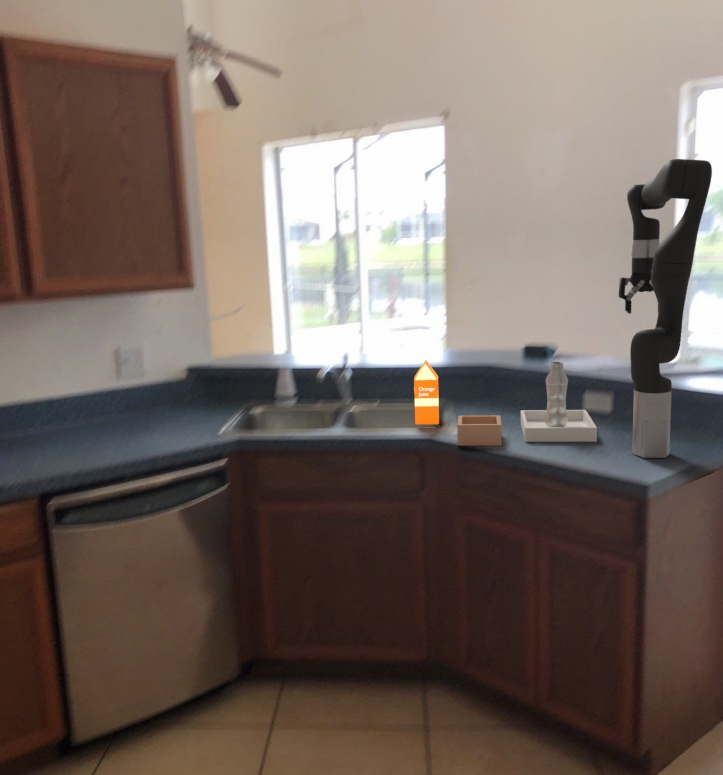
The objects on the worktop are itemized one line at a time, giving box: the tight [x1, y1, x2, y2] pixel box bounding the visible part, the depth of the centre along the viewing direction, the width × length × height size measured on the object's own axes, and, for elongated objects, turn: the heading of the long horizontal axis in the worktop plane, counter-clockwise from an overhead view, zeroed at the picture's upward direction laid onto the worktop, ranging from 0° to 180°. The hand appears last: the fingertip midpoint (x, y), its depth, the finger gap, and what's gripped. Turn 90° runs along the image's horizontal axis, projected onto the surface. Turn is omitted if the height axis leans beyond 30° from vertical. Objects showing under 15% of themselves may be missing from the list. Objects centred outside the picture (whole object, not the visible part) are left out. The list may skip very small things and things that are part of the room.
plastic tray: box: [520, 409, 598, 443], centre depth 232 cm, size 24×20×4 cm
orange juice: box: [413, 359, 440, 425], centre depth 251 cm, size 8×9×20 cm
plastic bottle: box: [545, 361, 569, 427], centre depth 230 cm, size 6×7×20 cm
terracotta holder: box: [456, 414, 503, 446], centre depth 225 cm, size 12×12×6 cm
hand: (644, 312), depth 222 cm, fingers open, 8 cm apart
